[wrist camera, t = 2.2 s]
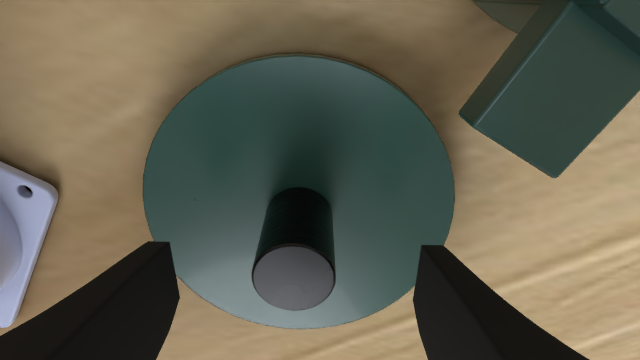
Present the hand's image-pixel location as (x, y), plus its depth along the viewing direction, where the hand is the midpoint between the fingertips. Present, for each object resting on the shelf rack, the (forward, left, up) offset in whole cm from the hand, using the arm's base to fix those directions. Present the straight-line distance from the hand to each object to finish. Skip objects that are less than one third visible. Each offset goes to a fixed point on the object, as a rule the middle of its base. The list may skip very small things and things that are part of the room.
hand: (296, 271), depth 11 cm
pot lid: (0, 0, -4) cm, 4 cm away
